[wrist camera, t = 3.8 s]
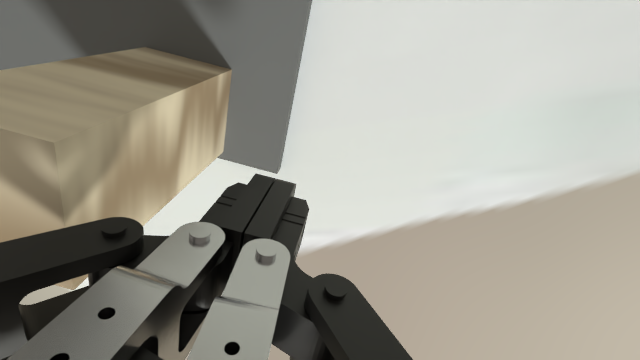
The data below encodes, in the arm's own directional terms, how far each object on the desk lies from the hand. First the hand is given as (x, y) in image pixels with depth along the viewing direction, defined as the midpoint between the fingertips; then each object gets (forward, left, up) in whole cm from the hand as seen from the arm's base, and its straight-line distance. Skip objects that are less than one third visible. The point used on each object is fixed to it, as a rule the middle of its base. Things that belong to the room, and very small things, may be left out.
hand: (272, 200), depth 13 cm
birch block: (0, -7, -8) cm, 11 cm away
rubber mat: (-2, -12, -9) cm, 15 cm away
